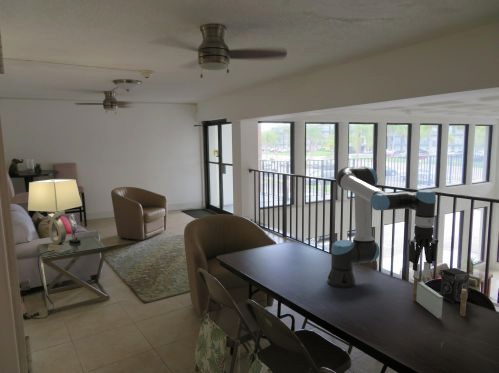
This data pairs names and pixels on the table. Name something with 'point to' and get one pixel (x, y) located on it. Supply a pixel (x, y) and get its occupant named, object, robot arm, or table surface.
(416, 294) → the hinge post
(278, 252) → the table surface
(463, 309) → the post
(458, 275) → the camera
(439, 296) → the gate
